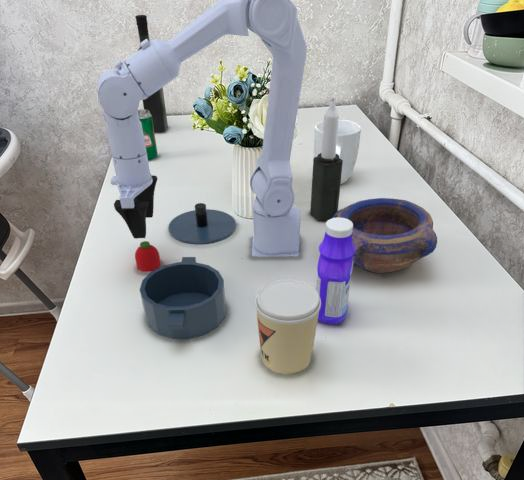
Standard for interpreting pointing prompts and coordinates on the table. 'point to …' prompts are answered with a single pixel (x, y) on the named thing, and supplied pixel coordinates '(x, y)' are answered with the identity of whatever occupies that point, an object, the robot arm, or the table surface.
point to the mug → (342, 144)
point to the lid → (202, 226)
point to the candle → (327, 170)
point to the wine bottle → (156, 100)
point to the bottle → (335, 270)
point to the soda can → (148, 133)
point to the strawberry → (147, 257)
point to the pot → (183, 299)
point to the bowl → (389, 233)
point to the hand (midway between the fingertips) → (143, 226)
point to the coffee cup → (287, 324)
